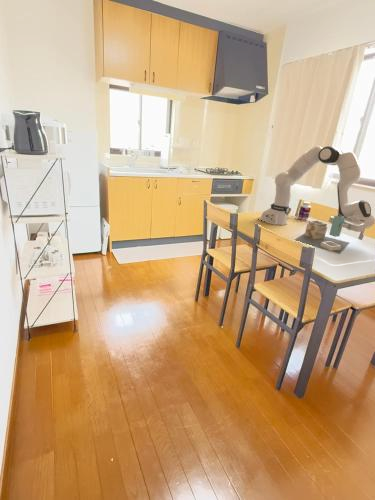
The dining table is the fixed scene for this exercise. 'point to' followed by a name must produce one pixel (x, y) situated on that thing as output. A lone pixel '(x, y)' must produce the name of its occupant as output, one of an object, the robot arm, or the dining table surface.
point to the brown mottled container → (316, 229)
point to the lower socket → (330, 245)
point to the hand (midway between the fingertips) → (336, 224)
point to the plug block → (336, 225)
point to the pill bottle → (304, 211)
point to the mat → (317, 242)
